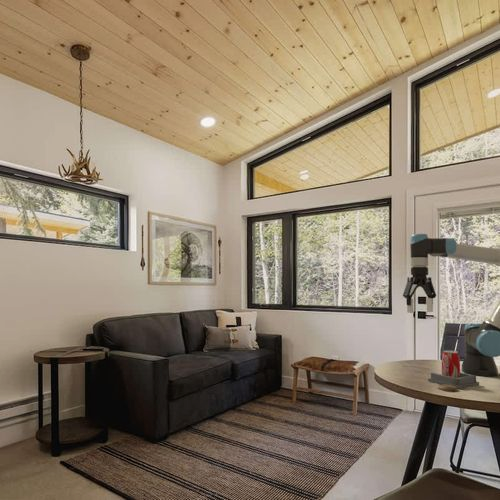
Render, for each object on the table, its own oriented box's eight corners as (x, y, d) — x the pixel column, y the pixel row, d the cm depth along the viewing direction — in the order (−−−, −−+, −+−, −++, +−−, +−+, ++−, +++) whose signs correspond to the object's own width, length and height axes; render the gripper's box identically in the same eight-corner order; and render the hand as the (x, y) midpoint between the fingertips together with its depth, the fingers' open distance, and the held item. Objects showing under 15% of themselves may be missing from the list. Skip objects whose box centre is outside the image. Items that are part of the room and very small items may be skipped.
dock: (448, 377, 180) (448, 369, 180) (479, 385, 167) (479, 376, 168) (428, 381, 173) (427, 372, 173) (458, 389, 161) (458, 379, 161)
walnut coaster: (445, 386, 165) (445, 383, 165) (461, 390, 159) (461, 387, 159) (434, 388, 162) (434, 385, 162) (449, 392, 156) (449, 389, 156)
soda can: (460, 382, 166) (460, 353, 167) (442, 380, 169) (441, 351, 170) (459, 378, 173) (459, 350, 174) (441, 376, 176) (441, 349, 177)
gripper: (429, 267, 197) (430, 310, 195) (394, 266, 185) (394, 312, 184) (443, 267, 190) (444, 312, 189) (407, 265, 179) (408, 313, 177)
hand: (420, 312), depth 186 cm, fingers open, 13 cm apart
